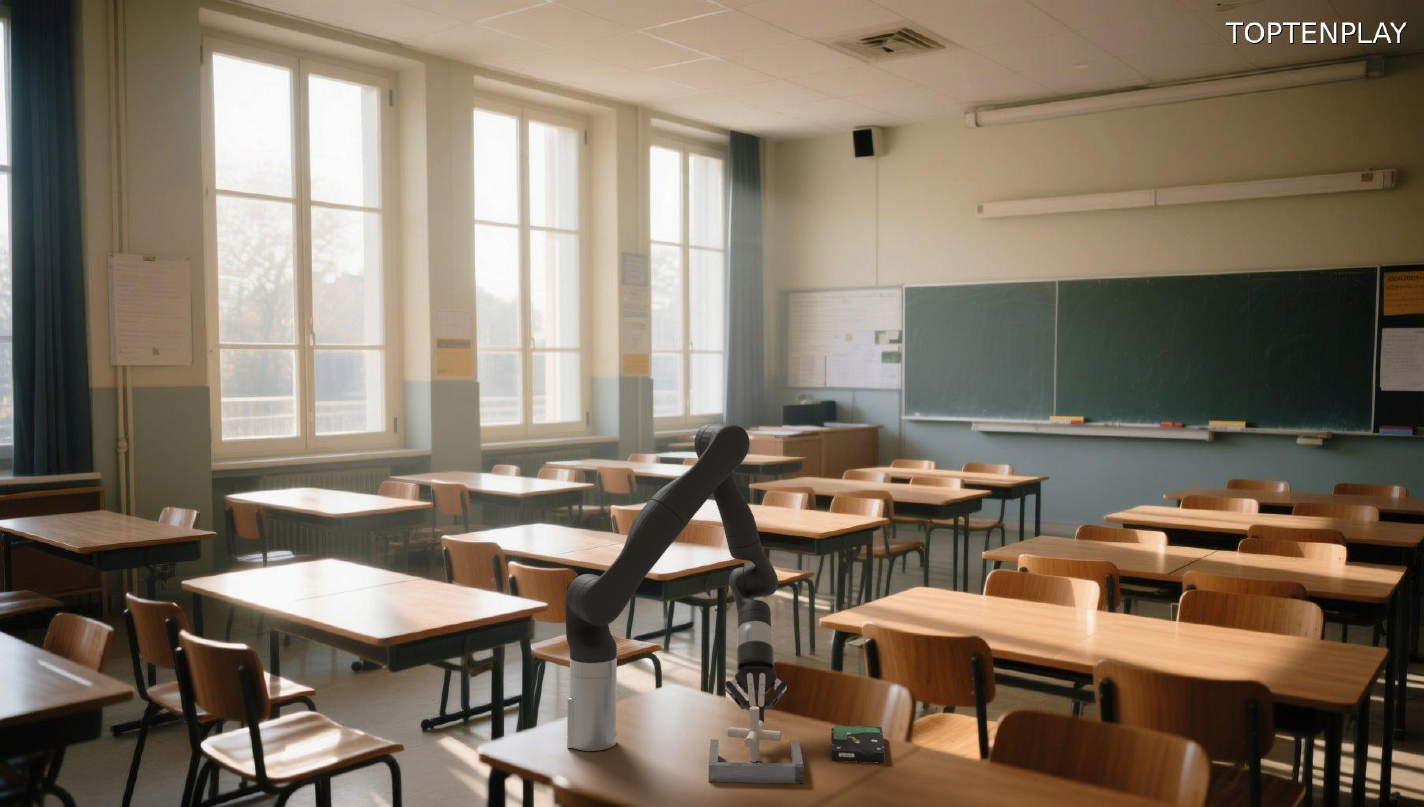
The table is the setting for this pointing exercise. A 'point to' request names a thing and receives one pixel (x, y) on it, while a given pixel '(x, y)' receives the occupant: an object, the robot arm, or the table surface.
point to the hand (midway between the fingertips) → (757, 727)
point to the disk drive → (857, 744)
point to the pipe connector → (754, 734)
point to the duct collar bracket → (756, 769)
